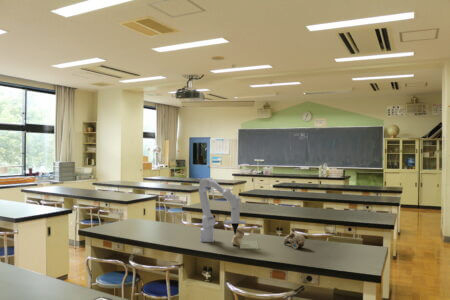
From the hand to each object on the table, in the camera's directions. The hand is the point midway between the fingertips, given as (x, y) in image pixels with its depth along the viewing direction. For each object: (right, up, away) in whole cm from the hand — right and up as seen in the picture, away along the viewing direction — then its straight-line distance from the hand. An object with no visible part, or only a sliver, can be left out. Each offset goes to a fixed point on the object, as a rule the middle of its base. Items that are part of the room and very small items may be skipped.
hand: (235, 234), depth 235 cm
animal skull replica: (+39, -8, -4) cm, 40 cm away
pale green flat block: (+9, -7, 0) cm, 12 cm away
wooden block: (0, -6, 0) cm, 6 cm away
